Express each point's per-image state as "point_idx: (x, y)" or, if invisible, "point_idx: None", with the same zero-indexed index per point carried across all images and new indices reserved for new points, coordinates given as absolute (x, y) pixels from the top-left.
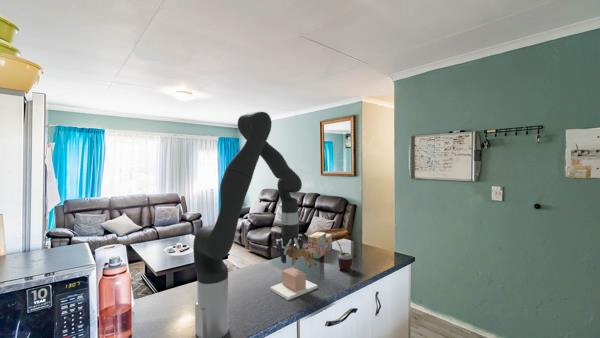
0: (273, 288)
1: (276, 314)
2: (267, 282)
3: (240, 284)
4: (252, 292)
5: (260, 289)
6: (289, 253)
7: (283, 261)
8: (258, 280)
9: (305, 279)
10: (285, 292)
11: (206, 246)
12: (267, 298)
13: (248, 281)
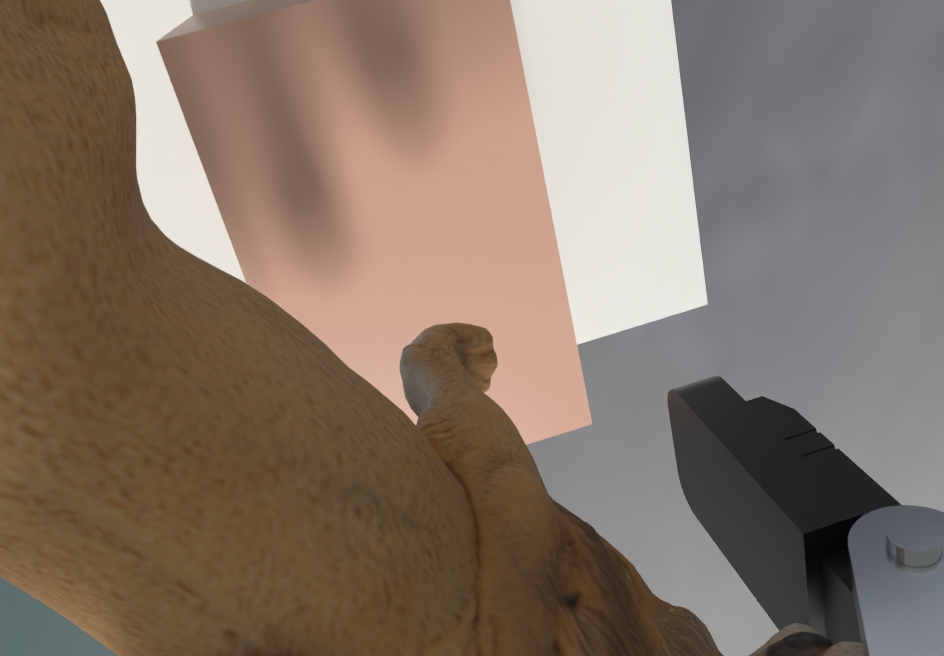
0: (693, 240)
1: None
2: (621, 507)
3: None
4: (903, 314)
5: (787, 353)
6: (649, 593)
7: (774, 409)
8: (691, 592)
9: (180, 27)
10: (601, 19)
11: None
12: (840, 60)
13: None
